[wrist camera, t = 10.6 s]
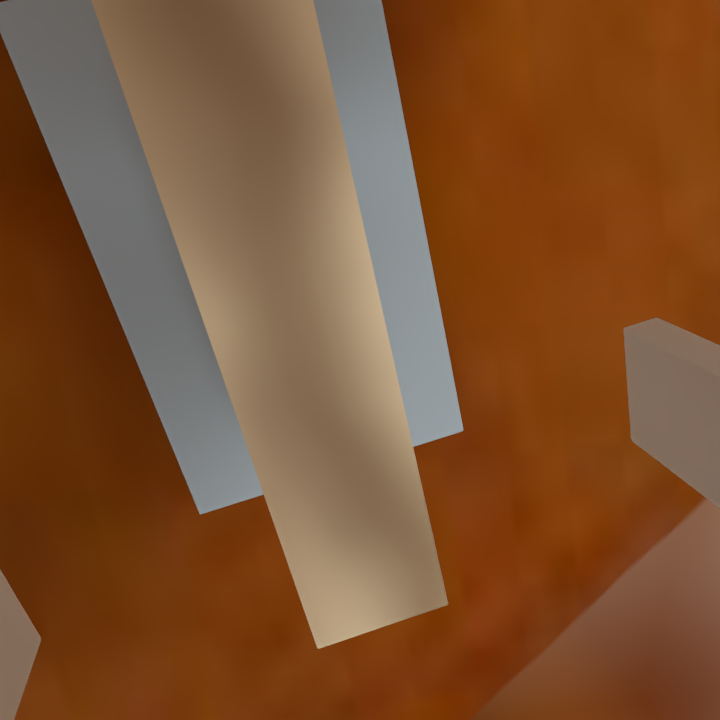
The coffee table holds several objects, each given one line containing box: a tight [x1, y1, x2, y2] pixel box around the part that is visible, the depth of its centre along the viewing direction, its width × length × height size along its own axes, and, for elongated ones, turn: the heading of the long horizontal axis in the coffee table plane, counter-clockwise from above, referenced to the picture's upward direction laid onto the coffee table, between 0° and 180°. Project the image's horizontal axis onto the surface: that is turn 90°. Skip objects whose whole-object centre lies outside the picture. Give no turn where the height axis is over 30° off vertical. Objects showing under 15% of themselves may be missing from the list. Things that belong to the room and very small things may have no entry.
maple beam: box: [91, 0, 448, 649], centre depth 22 cm, size 5×22×7 cm, turn 13°
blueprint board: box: [0, 0, 464, 514], centre depth 29 cm, size 16×26×8 cm, turn 13°
